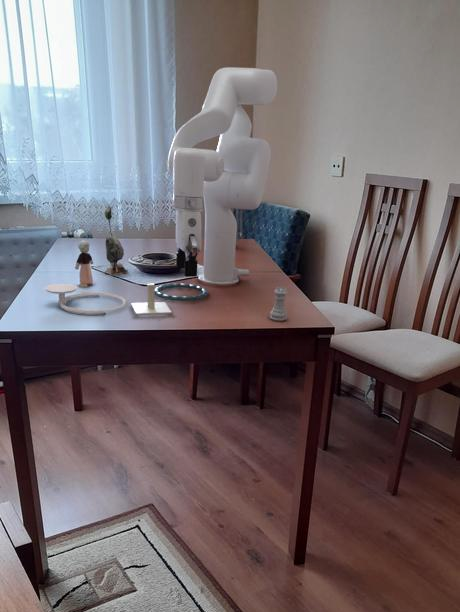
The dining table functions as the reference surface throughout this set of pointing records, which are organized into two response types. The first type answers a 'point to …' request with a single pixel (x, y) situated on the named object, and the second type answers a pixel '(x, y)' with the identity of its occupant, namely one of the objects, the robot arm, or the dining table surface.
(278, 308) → the rook chess piece
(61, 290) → the hand towel holder
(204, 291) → the ring
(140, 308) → the post
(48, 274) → the dining table surface
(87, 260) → the grandmother figurine
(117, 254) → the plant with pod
